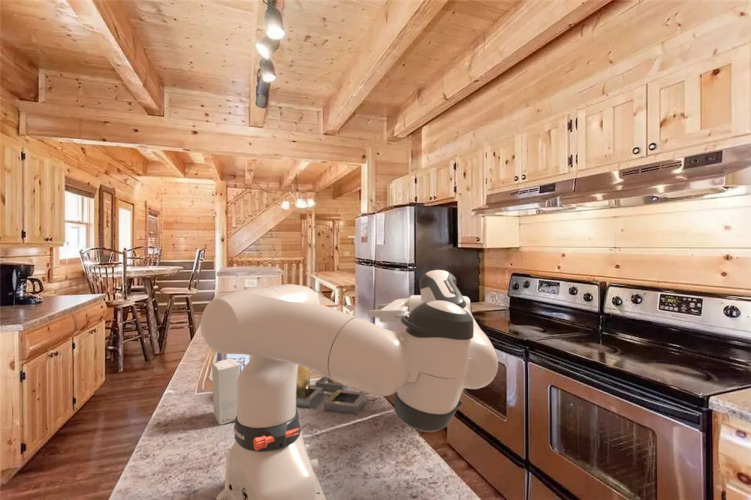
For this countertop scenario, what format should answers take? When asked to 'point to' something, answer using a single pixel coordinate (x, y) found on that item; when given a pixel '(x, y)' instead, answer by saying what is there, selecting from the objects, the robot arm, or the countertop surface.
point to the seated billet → (303, 382)
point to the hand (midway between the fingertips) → (373, 310)
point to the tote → (329, 385)
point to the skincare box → (225, 390)
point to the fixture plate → (333, 401)
